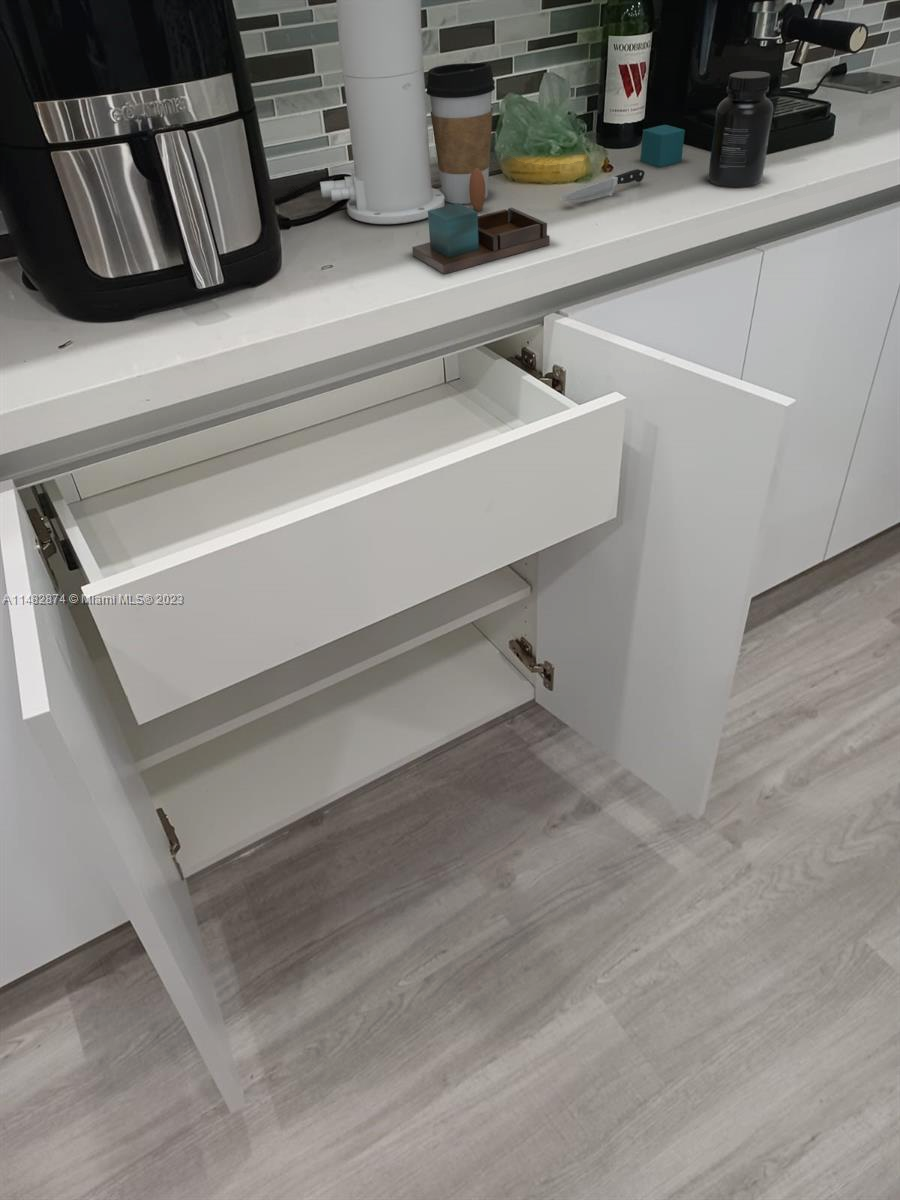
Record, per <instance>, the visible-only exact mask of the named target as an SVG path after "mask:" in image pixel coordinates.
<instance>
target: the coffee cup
mask: <svg viewBox="0 0 900 1200" xmlns="http://www.w3.org/2000/svg"><path fill="white" fill-rule="evenodd" d="M492 67H493V66H492V63H491V62H464V63H461V62H460V63H450V64H443V65H438V66H435V67H432V68H430V69H429V70H428V72H427V83H426V84H425V89H426V91H425V94H427V95H428V96H429V98H430V106H431V107H430V108H431V111H430V119H431V126H432V133H433V138H434V139H433V140H434V144H435V145H434V146H435V153H436V159H437V166H438V170H439V179H440V185H441V192H442V193H443V194H444V196H445V202H447V203H449V204H457V203H460V204H462V205H468V204H472V203H471V200H470V193H469V183H470V177H471V174H472V171H473V170H474V169H475V168H478V169H480V170H481V172H482V174H483V177H484V181H485V200H486V199H487V198H488V195H489V177H490V176H489V173H490V160H491V146H492V145H491V144H492V129H493V128H492V127H493V112H494V111H493V107H492V96H493V94H492V93H493V91H494V90H495V89H496V87H495V83H496V81H495V80H494V75H493V68H492Z"/></svg>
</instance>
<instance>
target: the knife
mask: <svg viewBox="0 0 900 1200" xmlns="http://www.w3.org/2000/svg"><path fill="white" fill-rule="evenodd" d="M644 177H645V171H644V170H642V169H639V168H636V169H632V170H629V171H627V172H623V173H620V174H618V175H615V176H611V177H609V178H607V179H604V180H601V181H597V182H595V183H591V184H589V185H586V186H585V185H584V186H583V187H580V188H577V189H575V190H572V191H571V192H568V193H565V194H564V195H562V196H561V197H560V198H559V200H560V201H562V202H566V203H582V202H589V201H592V200H597V199H600V198H603V197H608V196H610V197H611V196H613V194H614V190H615V187H616V185H624V184H628V183H633V182H636V183H641V182H642V181H643V180H644Z"/></svg>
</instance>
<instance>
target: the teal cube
mask: <svg viewBox="0 0 900 1200" xmlns="http://www.w3.org/2000/svg"><path fill="white" fill-rule="evenodd" d="M685 132H686V130H685V129H683V128H679V127H676V126H672V125H668V124H662V125H658V126H654V127H653V126H652V127H648V128H645V129H642V135H641V138H642V139H641V147H640V159H639V160H640V161H639V162H642V163H645V164H648V165H651V166H654V167H656V168H662V167H665V166H669V165H674V164H678V163H681V162H682V160H683V151H684V141H685Z"/></svg>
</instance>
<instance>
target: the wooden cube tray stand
mask: <svg viewBox="0 0 900 1200" xmlns="http://www.w3.org/2000/svg"><path fill="white" fill-rule="evenodd" d="M478 214H479V213H478V211H476V210H475V209H472V208H470V207H468V206H467V205H465V204H460V203H457V204H455V203H452V204H450V205H445V206H444V207H441V208H437V209H433V210H429V211H428V218H427V219H428V232H429V242H426V243H421V244H418V245H415V246H412V247H411V250H412V251H411V252H412V256H413V257H414V258H416V259H417V260H419V261H421V262H423V263H425V264H426V265H428V266H430V267H432V268H433V269H435V270H436V271H438V272H440V273H441V274H442V275H446V274H449V273H453V272H457V271H460V270H464V269H467V268H468V269H469V268H472V267H476V266H478V265H482V264H486V263H489V262H492V261H496V260H500V259H504V258H508V257H511V256H515V255H518V254H521V253H525V252H528V251H532V250H536V249H539V248H542V247H546V246H549V245H550V243H551V241H550V240H551V237H550V235H548V223H547V222H546V221H543V220H541V219H539V218H537V217H535V216H532V215H529V214H527V213H526V212H523V211H520V210H518V209H516V208H514V207H508V208H507V209H506V208H505V209H500V210H497V211H493V212H489V213H485V214H481V215H478Z"/></svg>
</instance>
